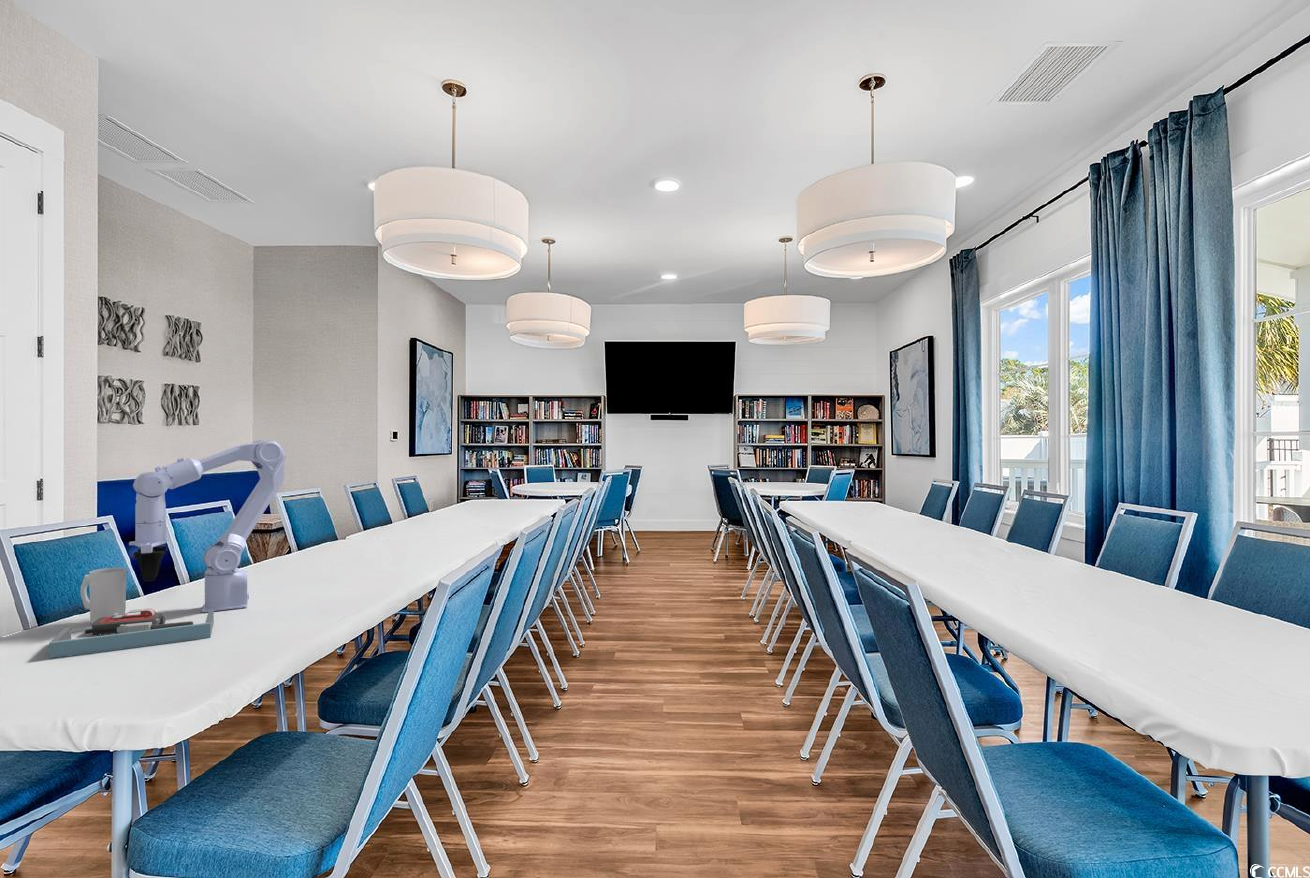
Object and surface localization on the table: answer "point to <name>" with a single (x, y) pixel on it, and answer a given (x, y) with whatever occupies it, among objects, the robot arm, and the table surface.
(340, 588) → the table surface
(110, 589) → the mug
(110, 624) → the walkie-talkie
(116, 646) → the tray
